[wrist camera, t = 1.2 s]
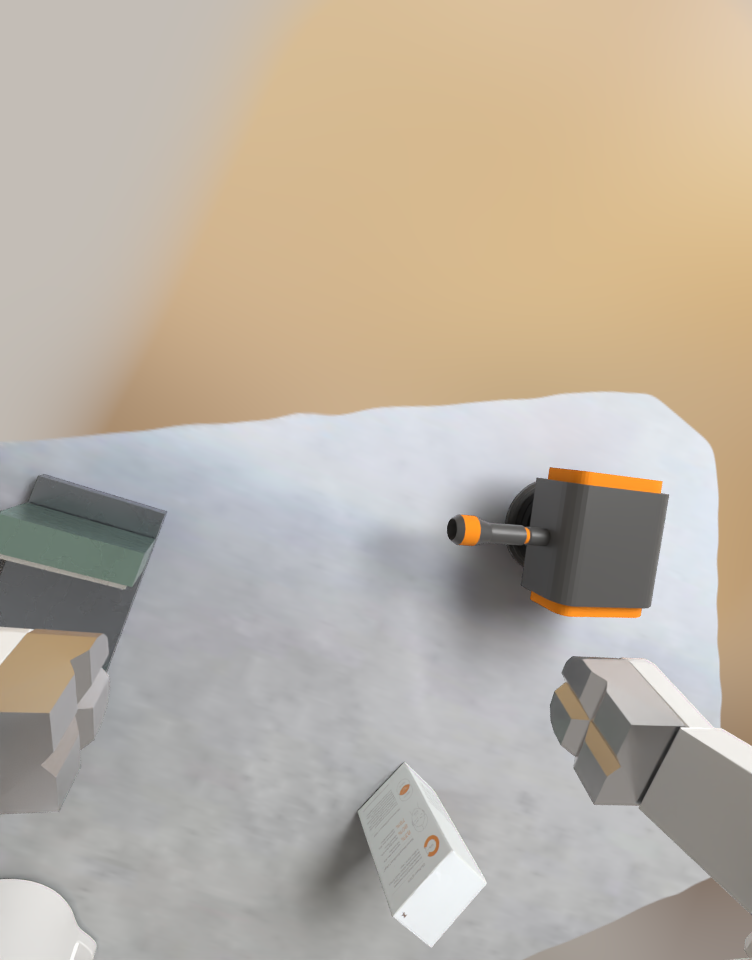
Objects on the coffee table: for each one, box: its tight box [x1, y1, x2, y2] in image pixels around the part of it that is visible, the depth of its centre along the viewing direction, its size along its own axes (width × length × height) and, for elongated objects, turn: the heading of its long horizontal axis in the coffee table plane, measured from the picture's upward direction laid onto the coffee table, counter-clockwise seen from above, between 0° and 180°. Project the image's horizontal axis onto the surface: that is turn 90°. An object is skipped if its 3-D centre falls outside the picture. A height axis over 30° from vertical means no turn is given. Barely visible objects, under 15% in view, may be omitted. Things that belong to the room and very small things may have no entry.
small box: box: [358, 762, 487, 947], centre depth 51 cm, size 8×6×13 cm
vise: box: [0, 474, 167, 673], centre depth 41 cm, size 21×11×8 cm, turn 159°
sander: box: [447, 467, 669, 618], centre depth 52 cm, size 15×25×13 cm, turn 82°
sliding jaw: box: [0, 503, 155, 590], centre depth 41 cm, size 4×11×6 cm, turn 69°
